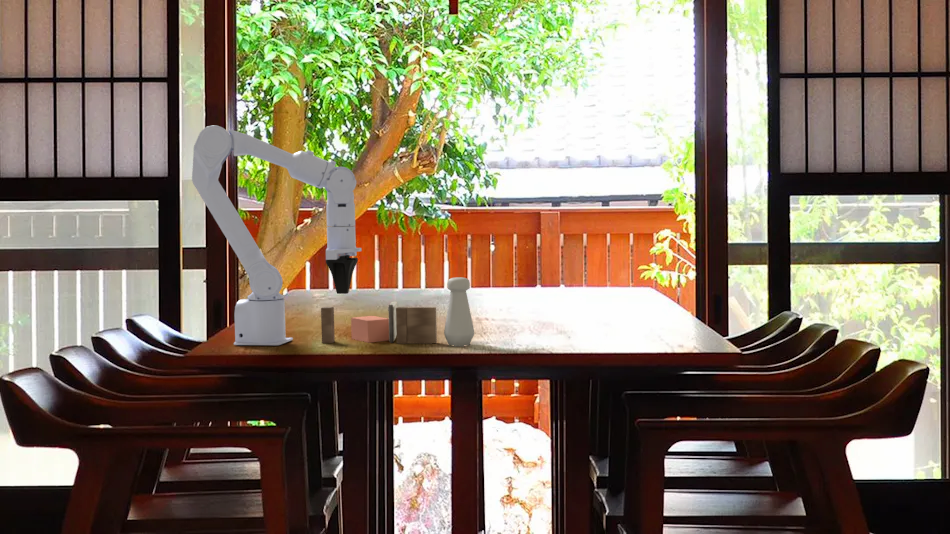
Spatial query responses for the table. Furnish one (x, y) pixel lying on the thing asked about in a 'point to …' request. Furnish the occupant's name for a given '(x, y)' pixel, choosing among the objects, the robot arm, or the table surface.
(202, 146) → the robot arm
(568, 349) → the table surface
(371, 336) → the block
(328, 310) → the frame
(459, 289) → the salt shaker
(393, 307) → the door
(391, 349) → the table surface
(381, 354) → the table surface
